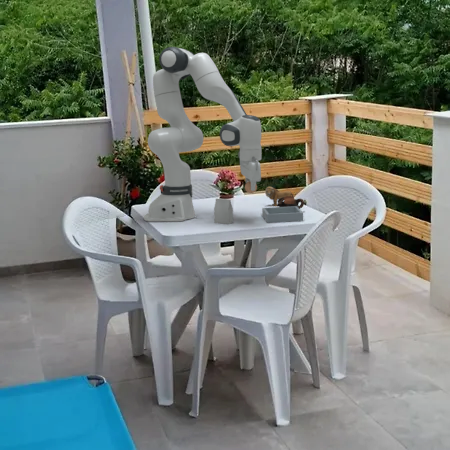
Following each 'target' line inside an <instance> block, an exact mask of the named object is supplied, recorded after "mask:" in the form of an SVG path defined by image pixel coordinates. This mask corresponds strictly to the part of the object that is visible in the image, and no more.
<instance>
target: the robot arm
mask: <svg viewBox="0 0 450 450" xmlns="http://www.w3.org/2000/svg"><path fill="white" fill-rule="evenodd" d="M158 62H159V65H160V66H161V68H162V69H158V70H157V71H156V72H154V74H153V77H152V87H153V88H152V90H153V95H154V100H155V101H154V102H155V106H156V111H157V115H158V116H159V118H161V119H163V121H166V122H167V123H168V124H169V127H161V128H157V129H155V130H151V132H150V133H149V135H148V138H147V145H148V148H149V150H150V151H151V152H152V153H153V154H155V155H156V157H158V159H159V160H160V162H161V164H162V167H163V173H164V185H160V186H159V190H160V194H159V195H158V196H157V197H156V198H155V199H154V200H153V201H151V203H149V207H148V213H146V214H144V215H143V220H144V221H145V222H183V221H187V220H190V219H195V218H196V216H197V215H196V212H195V209H194V208H195V207H194V203H193V186H192V185H193V184H192V180H191V167H190V165H189V164H188V163H186V162H185V161H183V160H182V159H181V157H180V153H186V152H192V151H196V150H197V149H198V150H199V149H200V148H201V147H202V146H203V143H204V133H203V131H202V130H201V128H199V127H198V126H196V125H195V124H194V122H192V121H191V120H190V119H189V116H188V115H187V113H186V111H185V108H184V104H183V99H182V94H181V90H180V85H179V83H180V81H184V80H186V79H187V78H188V77H190V76H191V77H192V80H193V82H194V84H195V87H196V88H197V91H198V92H199V94H200V95H201V96H202V97H203V98H204V99H206V100H208V101H212V102H215V103H217V104H220V105H221V106H223V107H224V108H225V109H226V110H227V112H228V113H229V115H230V117H231V119H232V121H230V122H228V123H225V124H223V125H222V126H221V128H220V129H219V139H220V141H221V143H222V144H223V145H224V146H226V147H237V146H239V151H238V158H239V167H240V173H241V175H242V176H243V177H245V184H246V183H247V182H249V181H250V182H251V186H250V190H252V191H254V190H255V186H256V185H257V182H261V180H262V170H261V167H262V166H261V163H260V162H259V161H261V160H262V144H261V142H262V141H261V140H262V122H261V120H260V118H259V117H258V116H256V115H252V114H247V112H246V110H245V109H244V107H243V105H242V104H241V102H240V101H239V99H238V97H237V96H236V93H234V92H233V90H232V89H231V88H230V87H229V86H228V84H226V82H225V81H224V79H223V77H222V75H221V74H220V71H219V69H218V67H217V66H216V64H215V62H214V61H213V59H212V58H211V57H210V55H209V54H208V53H206V52H198V53H196V54H194V53H193V52H192V51H189V50H187V49H186V48H185V49H184V48H179V47H176V46H169V47H166V48H164V49H163V50H162V51H161V53H160V55H159V59H158Z"/></svg>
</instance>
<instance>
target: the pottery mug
mask: <svg viewBox="0 0 450 450" xmlns="http://www.w3.org/2000/svg"><path fill="white" fill-rule="evenodd" d="M293 196H294V195H293ZM293 196H292V195H291V196H286V197H283V198H280V199H278V200H277V206H276V207H292V206H297V207H298V208H299V209H300V210H301V209H302V208H303V207H304V205H305V201H304V199H302V198H295V196H294V197H293ZM295 202H296V203H295ZM299 203H300V204H299Z"/></svg>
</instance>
